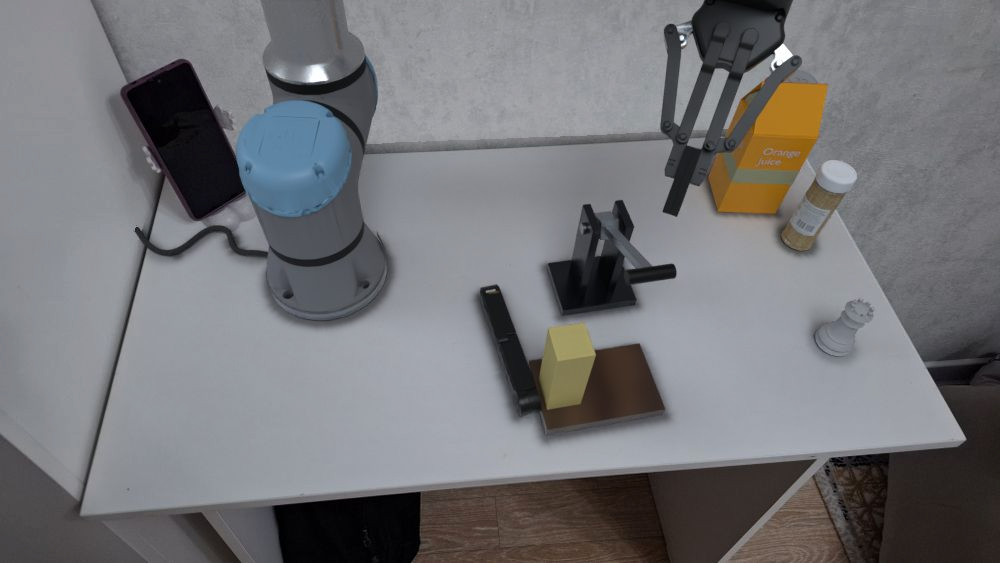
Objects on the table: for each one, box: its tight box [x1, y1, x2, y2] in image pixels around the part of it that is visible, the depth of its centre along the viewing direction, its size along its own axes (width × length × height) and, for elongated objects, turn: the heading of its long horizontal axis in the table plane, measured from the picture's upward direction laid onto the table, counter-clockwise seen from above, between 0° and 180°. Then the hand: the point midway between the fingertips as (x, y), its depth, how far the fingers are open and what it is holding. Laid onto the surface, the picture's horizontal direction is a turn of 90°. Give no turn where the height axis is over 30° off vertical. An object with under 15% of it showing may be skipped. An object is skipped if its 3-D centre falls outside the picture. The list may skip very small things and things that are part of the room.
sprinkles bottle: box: [780, 159, 858, 252], centre depth 84 cm, size 5×5×13 cm
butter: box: [539, 322, 596, 410], centre depth 67 cm, size 4×4×11 cm
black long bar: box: [479, 283, 541, 417], centre depth 75 cm, size 18×3×3 cm, turn 17°
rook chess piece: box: [814, 297, 875, 357], centre depth 76 cm, size 4×4×8 cm
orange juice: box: [707, 80, 829, 215], centre depth 87 cm, size 8×9×20 cm
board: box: [528, 343, 666, 436], centre depth 73 cm, size 14×9×2 cm, turn 101°
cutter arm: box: [594, 210, 678, 286], centre depth 68 cm, size 15×5×2 cm, turn 11°
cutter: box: [546, 199, 637, 317], centre depth 77 cm, size 8×10×14 cm
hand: (669, 213), depth 60 cm, fingers closed
